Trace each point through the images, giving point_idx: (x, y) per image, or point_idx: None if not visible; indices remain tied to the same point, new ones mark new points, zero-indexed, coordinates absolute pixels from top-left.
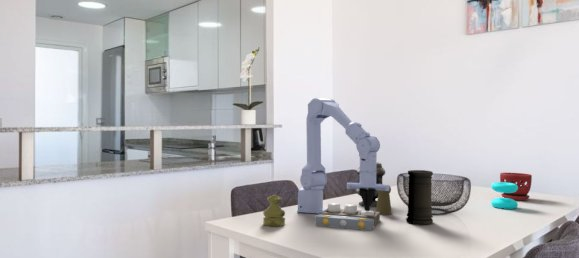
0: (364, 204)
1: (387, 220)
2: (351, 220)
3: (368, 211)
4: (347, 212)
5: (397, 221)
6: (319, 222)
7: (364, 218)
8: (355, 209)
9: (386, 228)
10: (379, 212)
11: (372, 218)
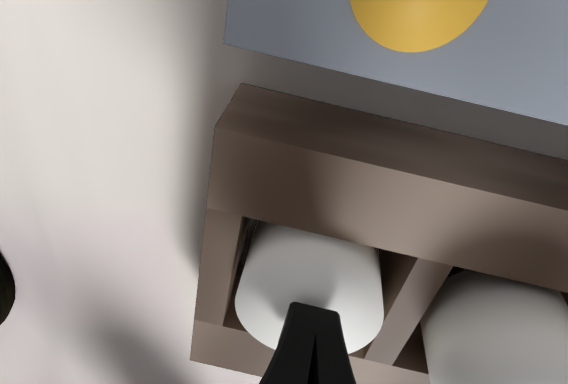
0: (347, 381)
1: (153, 299)
2: None
3: None
4: (560, 310)
5: (77, 277)
6: None
7: (382, 3)
8: (459, 346)
9: (109, 3)
10: (191, 346)
11: (254, 129)
